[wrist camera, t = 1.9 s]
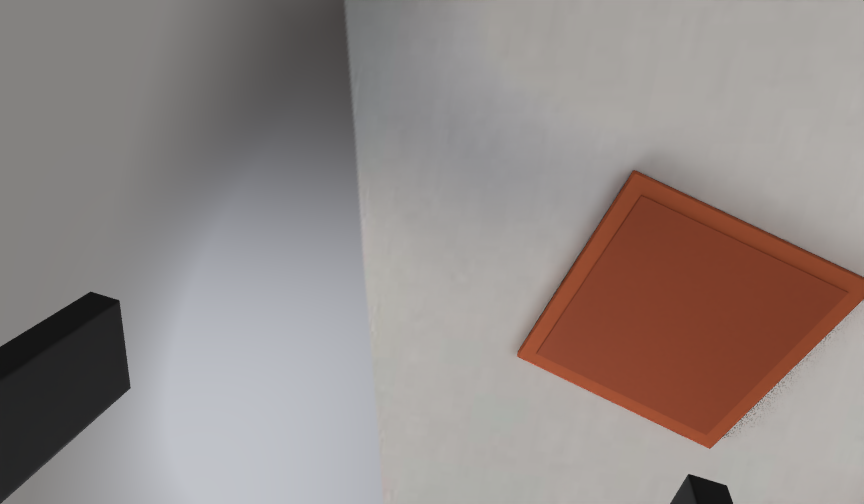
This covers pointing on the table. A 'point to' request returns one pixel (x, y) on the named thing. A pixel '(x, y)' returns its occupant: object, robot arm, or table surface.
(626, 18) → the table surface
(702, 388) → the mat
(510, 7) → the table surface
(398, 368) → the table surface
